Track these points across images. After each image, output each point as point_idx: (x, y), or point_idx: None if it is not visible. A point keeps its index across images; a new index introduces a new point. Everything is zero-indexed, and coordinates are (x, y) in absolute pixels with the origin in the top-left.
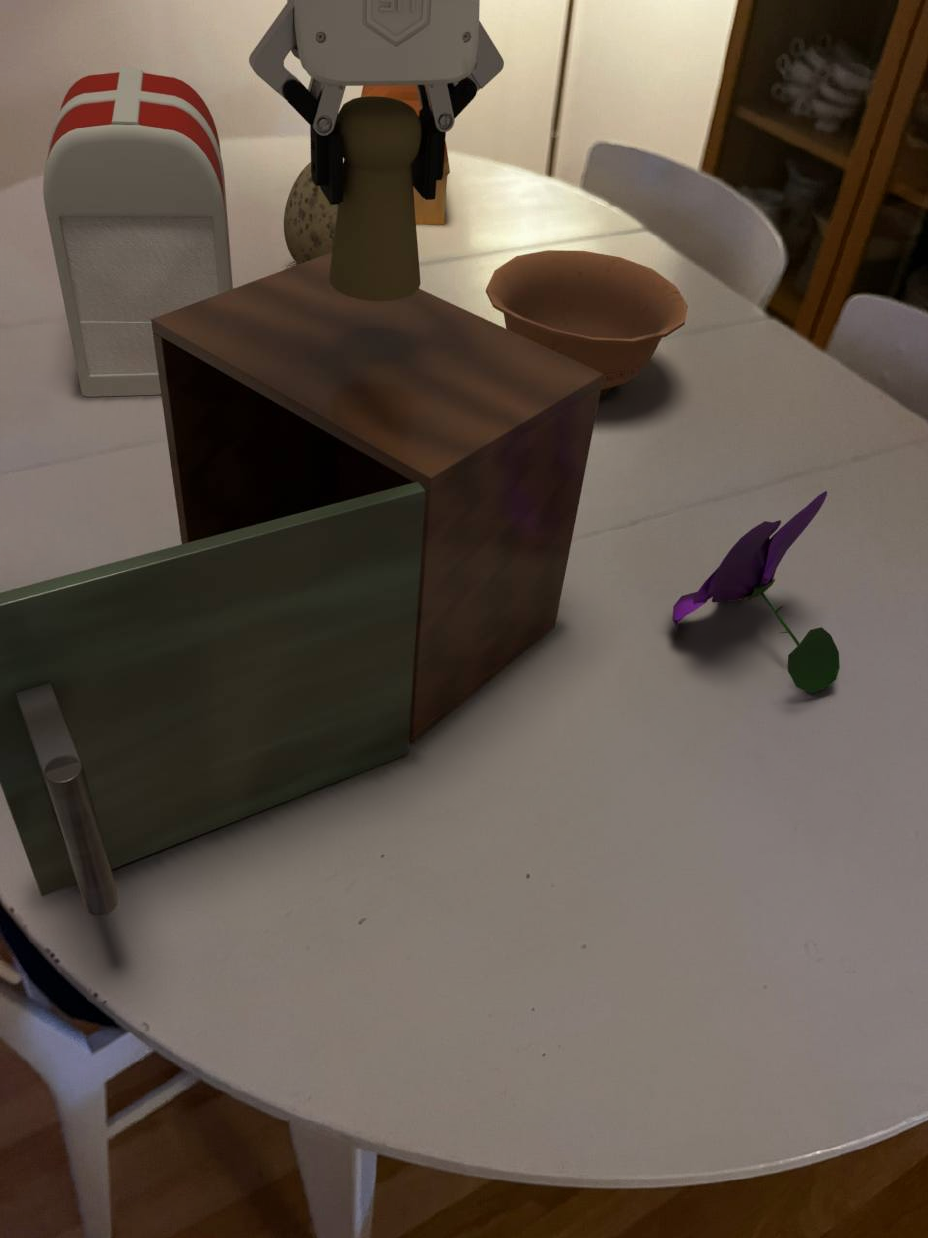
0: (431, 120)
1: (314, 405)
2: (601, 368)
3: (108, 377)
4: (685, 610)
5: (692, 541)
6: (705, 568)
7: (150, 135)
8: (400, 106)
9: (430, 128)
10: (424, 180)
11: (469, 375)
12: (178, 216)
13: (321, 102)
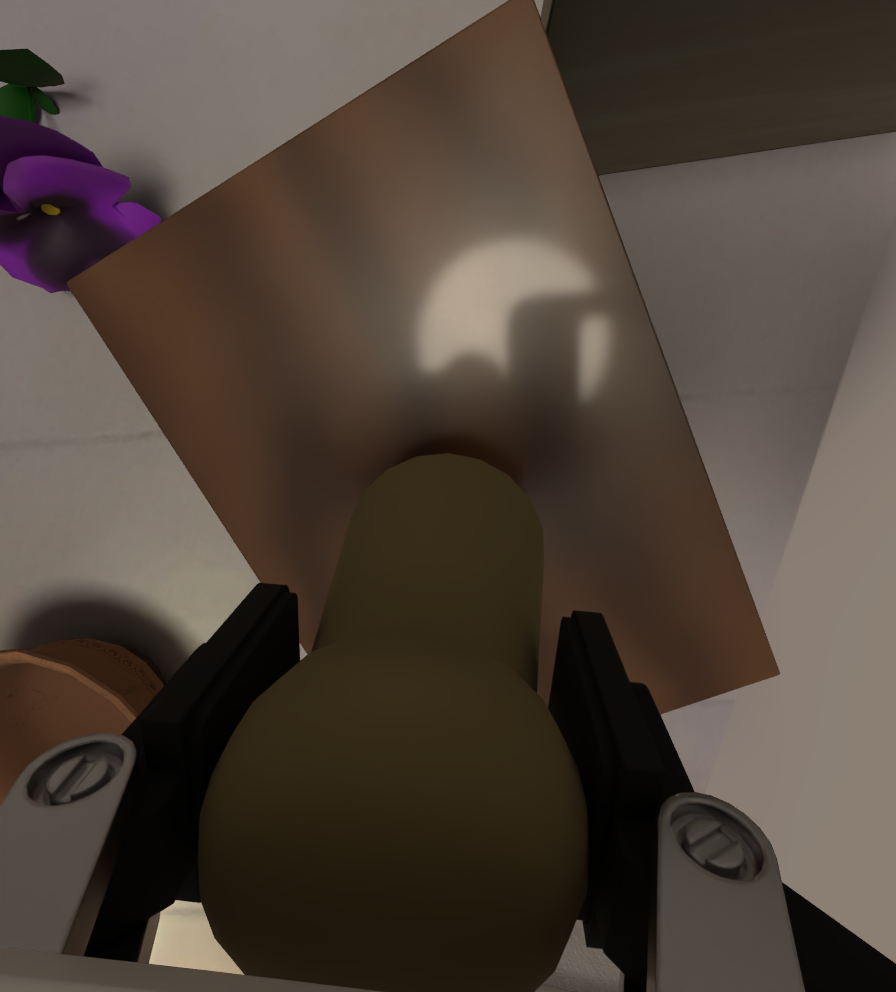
0: (143, 803)
1: (635, 325)
2: (82, 650)
3: None
4: (144, 219)
5: (91, 385)
6: (93, 338)
7: None
8: (275, 894)
9: (167, 773)
10: (277, 621)
11: (321, 349)
12: (543, 985)
13: (786, 960)
